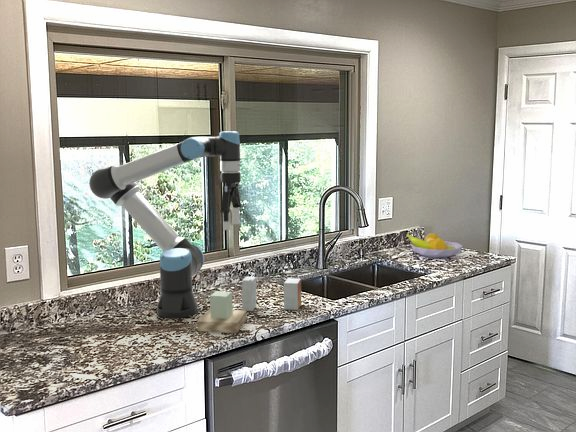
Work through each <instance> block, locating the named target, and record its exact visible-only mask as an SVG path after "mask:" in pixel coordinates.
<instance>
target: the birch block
mask: <svg viewBox="0 0 576 432" xmlns="http://www.w3.org/2000/svg"><path fill="white" fill-rule="evenodd" d="M247 312H248V311H242V309H241V310H240V309H239V310H238V309H237V310H235V309H233V314H232V315H231V316H230V317H229V318H228V319H218V318H211V312H210V308H209V309H208V310H206V312H205V313H204V314H203V315H202V316H201V317H200V318H199V319H198V320H197V322H196V323H197V332H211V333H229V334H230V333H231V334H234V333H235V334H237V333H239V331H240V330H241V329H242V327H243V326H244V324H245V323H246V321H247V318H248V316H247V314H248V313H247Z"/></svg>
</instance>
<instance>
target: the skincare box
mask: <svg viewBox="0 0 576 432" xmlns="http://www.w3.org/2000/svg"><path fill="white" fill-rule="evenodd" d="M256 307H257V276H245V277H244V278H243V279H242V280H241V311H247V312H253V311H254V310H255V308H256Z"/></svg>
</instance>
